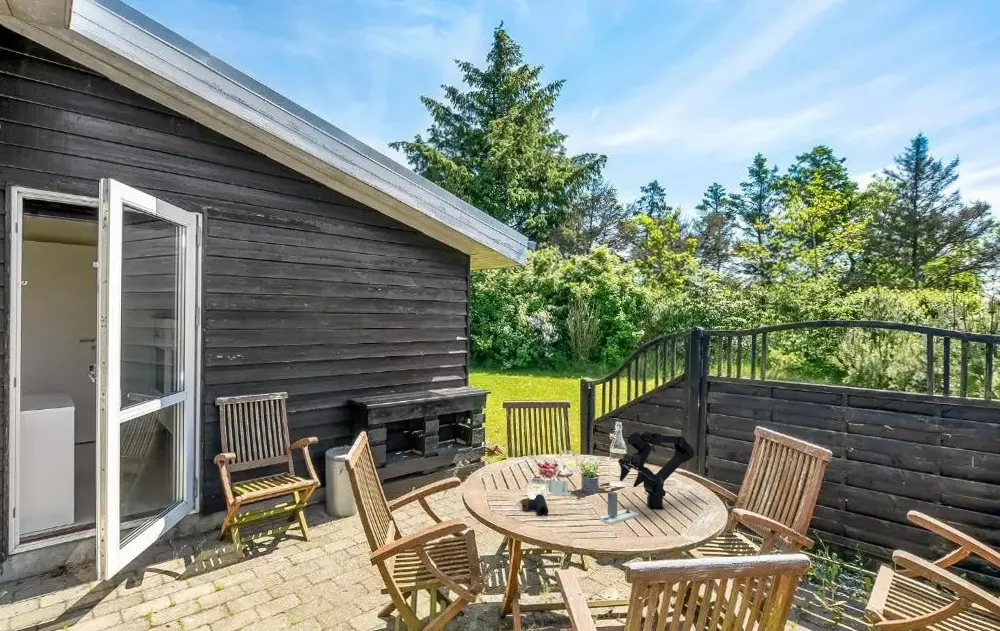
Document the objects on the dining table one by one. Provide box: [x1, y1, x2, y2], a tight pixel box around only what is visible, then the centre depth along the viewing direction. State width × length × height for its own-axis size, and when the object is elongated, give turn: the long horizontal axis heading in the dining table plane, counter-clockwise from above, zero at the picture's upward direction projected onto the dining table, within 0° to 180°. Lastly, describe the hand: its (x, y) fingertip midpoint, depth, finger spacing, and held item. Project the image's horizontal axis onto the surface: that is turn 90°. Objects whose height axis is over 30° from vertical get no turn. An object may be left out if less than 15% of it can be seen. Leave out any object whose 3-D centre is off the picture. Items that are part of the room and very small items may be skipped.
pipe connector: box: [521, 493, 549, 517], centre depth 233 cm, size 12×5×15 cm
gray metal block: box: [607, 491, 618, 517], centre depth 222 cm, size 3×3×11 cm
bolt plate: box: [598, 506, 639, 526], centre depth 224 cm, size 18×7×4 cm, turn 122°
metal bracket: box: [546, 478, 572, 496], centre depth 258 cm, size 14×6×15 cm
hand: (627, 483), depth 229 cm, fingers open, 9 cm apart
